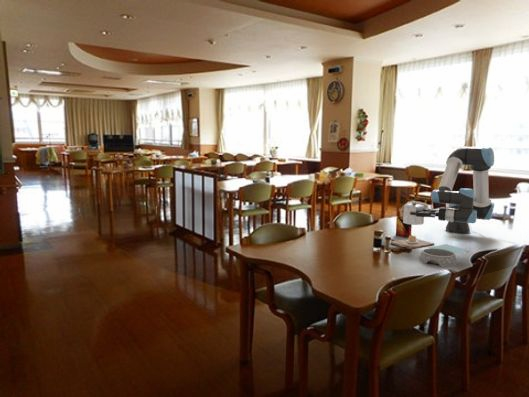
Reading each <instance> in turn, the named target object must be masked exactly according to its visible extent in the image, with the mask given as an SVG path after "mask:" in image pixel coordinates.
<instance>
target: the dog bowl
mask: <svg viewBox="0 0 529 397" xmlns="http://www.w3.org/2000/svg"><path fill="white" fill-rule="evenodd" d="M456 256H457V255H456V254H455V253H453V252H451V251H448V250H444V249H435V248H424V249H422V250H421V253H420V256H419V259H418V261H419V262H421V263H422V264H425V265H426V264H428V263H430V264H434V265H435V264H436V265H439V267H442V268H450V267H455V266H457V265H458V262H457V257H456Z"/></svg>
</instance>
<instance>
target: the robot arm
mask: <svg viewBox="0 0 529 397" xmlns="http://www.w3.org/2000/svg"><path fill="white" fill-rule="evenodd" d="M445 164H446V166H445V169H444V171H443V173H442V174H443V175H442V177H441V180H440V183H439V185H438V187H437V189H433V190H432V191H431V193H430V194H431V195H430V199H431V202H433V203H435V204H436V203H437V204H447V205H449V207H448V208H446V207H439V209H433V208H427V207H424V212H418V211H417V210H416V211H409V210H405V215H412V216H417V217H424V218H435V217H438V218H437V220H438V221H441V222H442V221H443V222H445V221H446V222H447V224H446V226H445V231H446V232H447V233H451V234H458V235H467V234H470V232H471V228H470V224H476V222H477V220H482V221H484V220H486V221H487V220H488V221H489V220H491V219H492V218H493V213H494V207H495V202H492V199H490V196H489V195H490V194H489V192H490V191H489V190H490V189H489V170H490V169H491V167H493V166H494V164H495V153H494V150H493V148H492V147H490V146H462V147H460V148H457V149H455V150H454V151H453V152H451V153H450V154H449V156H448V157H447V159H446V163H445ZM463 166H469V169H470V170H471V171H472V180H473V182H472V183H473V184H472V186H473V188H465V187H464V188H462V187H461V188H459V190H457V191H456V190H453V188H454V185H455V182H456V180H457V177H458V174H459V171H460V170H461V168H462V167H463Z"/></svg>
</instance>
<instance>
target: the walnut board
mask: <svg viewBox="0 0 529 397" xmlns="http://www.w3.org/2000/svg"><path fill="white" fill-rule="evenodd" d="M406 240H408V238H404V239H397V240H392V241H391V242H392V243H395V244H399V245H402V246H405V247H407V248H406V249H409V250H414V249H415V250H416V249H420V248H421V249H422V248H426V247H427V248H428V247H433V246H435V243H434V242H430V241H427V240H422V239H420V238H416V240H417V241H418V244H410V243H407V242H406Z"/></svg>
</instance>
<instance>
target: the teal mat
mask: <svg viewBox="0 0 529 397" xmlns="http://www.w3.org/2000/svg"><path fill="white" fill-rule="evenodd" d="M429 248H435V249H444V250H448V251H451V252H453V253H455V255H456V254H461V253H466V252H470V251H471V250H470V249H466V248H462V247H458V246H456V245H455V246H454V245H450V244H447V243H445V244H439V245H432V246H427V249H429Z"/></svg>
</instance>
